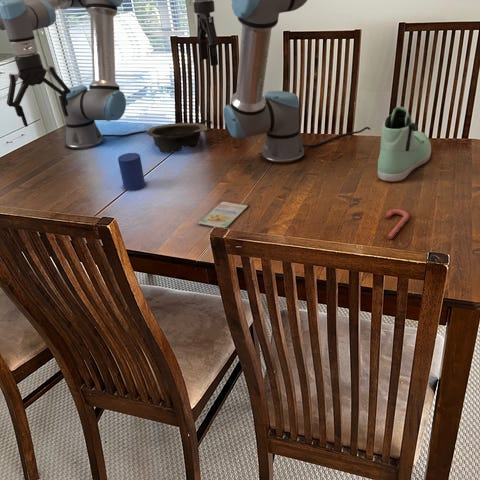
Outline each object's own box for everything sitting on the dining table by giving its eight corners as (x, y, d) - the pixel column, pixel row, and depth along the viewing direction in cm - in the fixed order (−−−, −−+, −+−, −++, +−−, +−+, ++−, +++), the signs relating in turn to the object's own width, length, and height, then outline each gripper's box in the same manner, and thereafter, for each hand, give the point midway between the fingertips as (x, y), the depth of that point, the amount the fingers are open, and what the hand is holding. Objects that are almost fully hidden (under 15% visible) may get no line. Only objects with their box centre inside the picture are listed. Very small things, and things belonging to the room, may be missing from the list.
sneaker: (435, 147, 173) (444, 90, 162) (416, 186, 148) (424, 121, 137) (397, 143, 179) (403, 88, 168) (371, 180, 154) (377, 117, 143)
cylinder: (133, 192, 159) (127, 162, 153) (119, 187, 163) (113, 158, 157) (149, 184, 164) (144, 155, 158) (135, 179, 168) (129, 151, 162)
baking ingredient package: (197, 222, 136) (222, 200, 148) (198, 223, 137) (222, 201, 148) (225, 227, 133) (248, 204, 144) (225, 229, 133) (248, 206, 145)
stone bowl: (160, 161, 179) (155, 137, 175) (141, 147, 200) (136, 125, 195) (220, 146, 188) (216, 122, 184) (195, 134, 208) (192, 112, 204)
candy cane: (369, 235, 126) (370, 230, 125) (390, 211, 136) (390, 206, 135) (392, 241, 122) (392, 236, 122) (411, 215, 133) (412, 211, 132)
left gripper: (-13, 63, 142) (11, 132, 153) (69, 48, 153) (85, 113, 165) (-18, 60, 147) (5, 127, 159) (61, 46, 159) (78, 109, 170)
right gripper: (185, -1, 182) (191, 58, 193) (202, 4, 161) (209, 69, 172) (204, -3, 184) (209, 55, 195) (223, 1, 163) (228, 66, 174)
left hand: (46, 120), depth 162 cm, fingers open, 13 cm apart
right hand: (209, 62), depth 184 cm, fingers open, 13 cm apart
